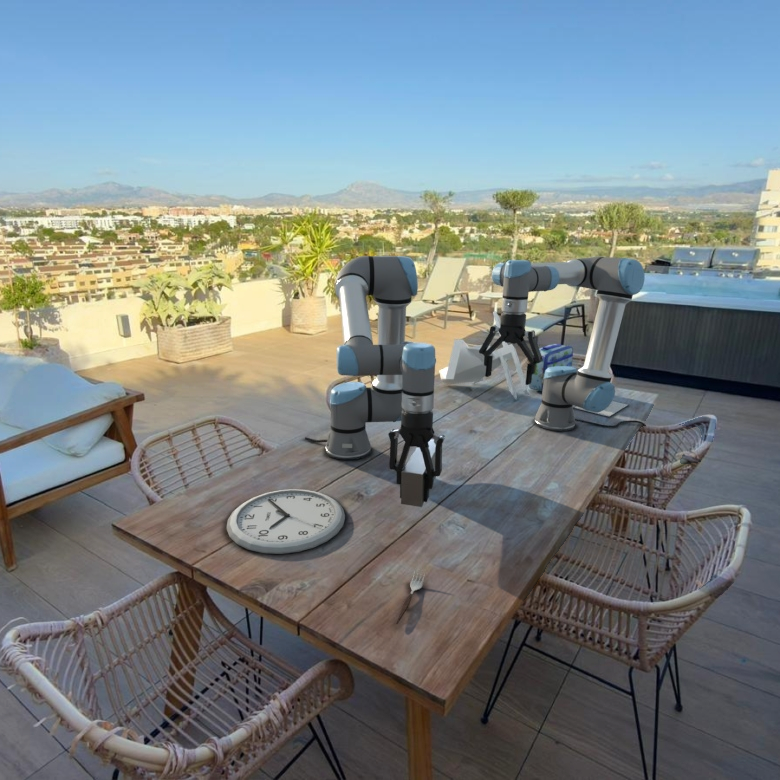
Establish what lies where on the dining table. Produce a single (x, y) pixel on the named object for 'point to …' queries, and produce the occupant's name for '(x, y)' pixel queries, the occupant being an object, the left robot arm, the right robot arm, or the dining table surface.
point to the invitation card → (609, 409)
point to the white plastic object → (480, 363)
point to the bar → (415, 477)
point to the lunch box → (551, 362)
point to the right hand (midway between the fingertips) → (507, 380)
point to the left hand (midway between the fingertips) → (414, 497)
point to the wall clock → (285, 521)
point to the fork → (414, 586)
